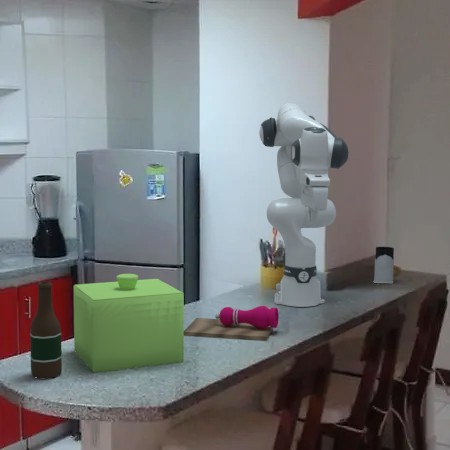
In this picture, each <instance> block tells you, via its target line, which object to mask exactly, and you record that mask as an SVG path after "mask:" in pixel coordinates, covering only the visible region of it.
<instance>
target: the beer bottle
mask: <svg viewBox="0 0 450 450" xmlns="http://www.w3.org/2000/svg"><path fill="white" fill-rule="evenodd" d="M36 288H37V289H38V291H37V310H36V314H35V316H34V317H33V319H32V321H31V324H30V325H29V326H30V328H29V329H30V330H29V337H30V339H29V340H30V341H29V342H30V343H29V344H30V345H29V346H30V347H29V348H30V372H31V373H30V374H31V376H32V377H33V376H34V377H37V378H51V377H56V376H57V377H59V376H61V375H62V368H63V367H62V366H63V365H62V360H63V359H62V358H63V356H62V328H61V323H60V321H59V319H58V318H57V316H56V315H55V312H54V307H53V296H52V295H53V293H52V288H53V284H52V282H50V281H41V282H38V283H37V285H36ZM60 374H61V375H60ZM58 375H59V376H58ZM34 377H33V378H34ZM57 377H56V378H57ZM37 378H36V379H37ZM51 379H52V378H51Z"/></svg>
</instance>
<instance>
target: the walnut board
mask: <svg viewBox="0 0 450 450" xmlns="http://www.w3.org/2000/svg"><path fill="white" fill-rule="evenodd" d="M273 329H274V328H271V327H270V326H268V327H267V328H265V329H260V328H257V327H255V326H253V325H250V324H247V323H240V324H239V325H238V324H236V325H235V324H234V323H233V324H232V325H230V326H225V325H223V324H222V323H221V322H220V318H219V319H216V318H206V317H205V318H204V317H203V318H202V317H195V319H194V320H193V321H192V322H191V323H190V324H189V325H188V326H187V327H186V328H185V329H184V336H186V337H187V336H188V337H202V338H203V337H204V338H219V339H235V340H249V341H250V340H251V341H252V340H253V341H268V339H269V338H270V336H271V333H272V332H273Z"/></svg>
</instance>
